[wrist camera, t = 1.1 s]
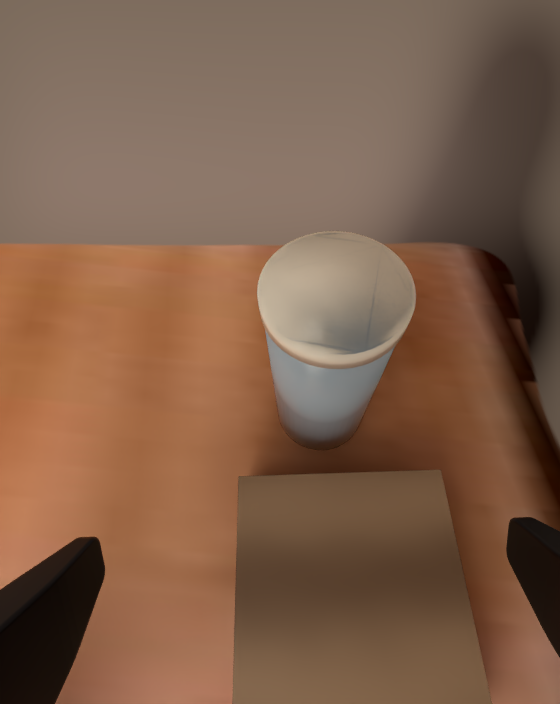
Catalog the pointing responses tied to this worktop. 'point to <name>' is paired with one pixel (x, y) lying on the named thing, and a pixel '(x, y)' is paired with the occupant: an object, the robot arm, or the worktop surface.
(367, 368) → the canister
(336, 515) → the base block
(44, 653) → the robot arm
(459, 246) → the worktop surface
